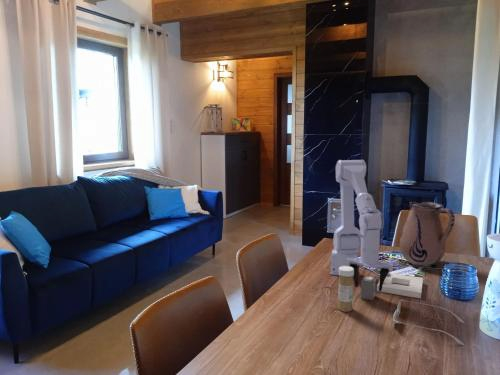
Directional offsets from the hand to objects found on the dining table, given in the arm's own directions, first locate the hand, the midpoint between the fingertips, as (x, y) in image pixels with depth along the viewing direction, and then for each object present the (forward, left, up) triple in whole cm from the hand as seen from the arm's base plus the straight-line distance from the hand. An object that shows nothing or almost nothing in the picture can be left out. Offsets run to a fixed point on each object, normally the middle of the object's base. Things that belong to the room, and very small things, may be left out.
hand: (368, 287), depth 131 cm
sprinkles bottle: (-5, -12, -3) cm, 13 cm away
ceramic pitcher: (+16, +42, -3) cm, 45 cm away
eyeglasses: (+19, -12, -4) cm, 23 cm away
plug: (0, 0, -3) cm, 3 cm away
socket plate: (+9, +13, -3) cm, 16 cm away
